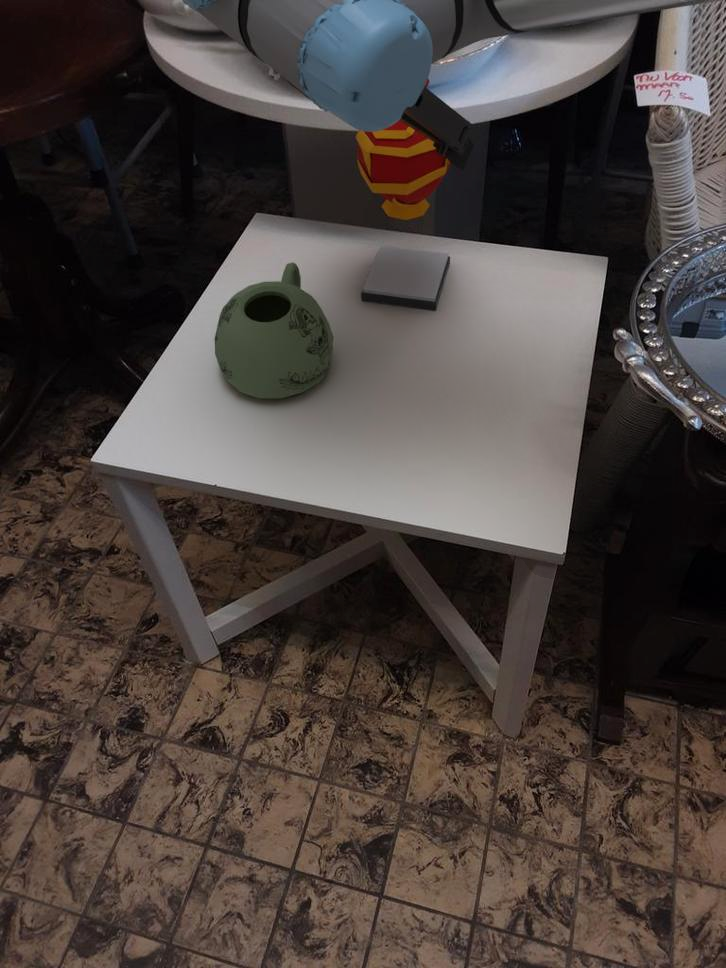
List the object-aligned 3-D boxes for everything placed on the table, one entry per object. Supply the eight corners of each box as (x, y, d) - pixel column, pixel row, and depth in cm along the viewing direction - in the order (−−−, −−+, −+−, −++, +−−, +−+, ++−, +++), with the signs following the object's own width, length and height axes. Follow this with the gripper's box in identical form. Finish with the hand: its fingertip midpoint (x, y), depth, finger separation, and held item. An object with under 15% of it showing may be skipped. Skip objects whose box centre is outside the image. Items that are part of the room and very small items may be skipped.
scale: (449, 263, 95) (450, 252, 94) (435, 310, 90) (436, 300, 89) (379, 255, 97) (378, 244, 96) (361, 300, 92) (360, 290, 91)
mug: (318, 416, 81) (310, 355, 74) (203, 398, 83) (185, 338, 76) (354, 316, 90) (350, 253, 83) (250, 303, 92) (237, 241, 86)
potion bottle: (455, 232, 82) (465, 88, 70) (358, 234, 82) (351, 92, 70) (450, 177, 88) (457, 37, 76) (359, 180, 89) (353, 41, 77)
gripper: (198, 52, 67) (327, 144, 87) (408, 126, 58) (498, 210, 78) (229, -38, 66) (354, 77, 85) (451, 25, 57) (533, 137, 76)
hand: (423, 141), depth 82 cm, fingers closed on potion bottle, 10 cm apart
